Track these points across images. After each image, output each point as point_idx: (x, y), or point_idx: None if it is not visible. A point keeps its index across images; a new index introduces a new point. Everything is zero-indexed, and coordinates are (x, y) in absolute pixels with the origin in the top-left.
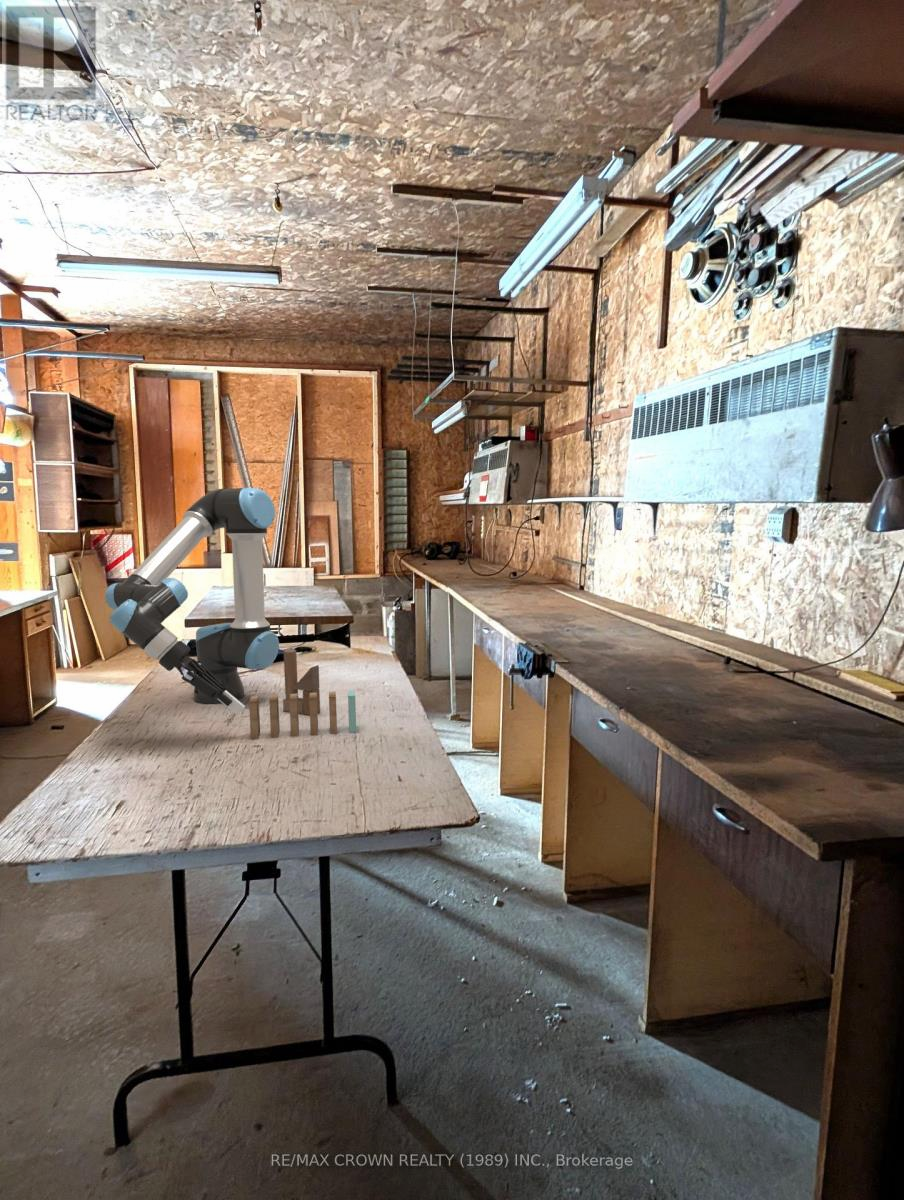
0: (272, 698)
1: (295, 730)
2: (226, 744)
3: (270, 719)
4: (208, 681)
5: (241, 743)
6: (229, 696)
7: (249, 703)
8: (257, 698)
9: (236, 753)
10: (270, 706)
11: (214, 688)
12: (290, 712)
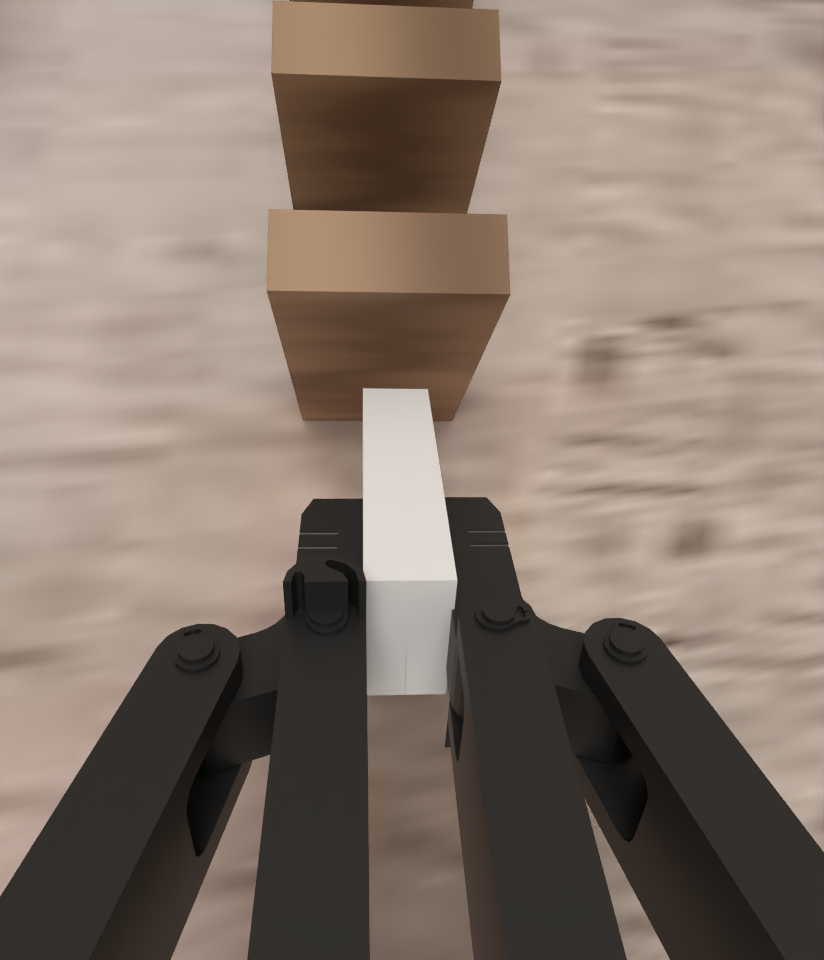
0: (425, 52)
1: None
2: (533, 588)
3: (467, 203)
4: (598, 890)
5: (529, 478)
6: (445, 522)
7: (503, 300)
8: (381, 213)
9: (729, 486)
10: (489, 119)
11: (693, 713)
12: (469, 6)
